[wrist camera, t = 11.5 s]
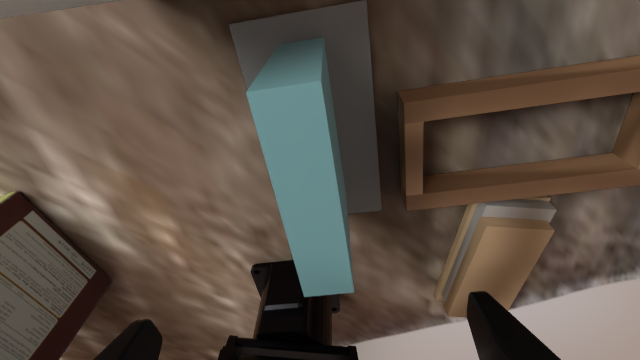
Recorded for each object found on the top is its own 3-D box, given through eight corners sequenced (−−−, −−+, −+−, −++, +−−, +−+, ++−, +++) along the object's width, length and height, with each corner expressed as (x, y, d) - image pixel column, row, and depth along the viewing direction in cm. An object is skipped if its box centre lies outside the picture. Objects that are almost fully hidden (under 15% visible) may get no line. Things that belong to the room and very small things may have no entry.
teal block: (323, 37, 17) (320, 80, 10) (346, 194, 22) (354, 292, 15) (278, 45, 17) (245, 92, 10) (311, 198, 22) (304, 296, 16)
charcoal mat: (381, 205, 23) (382, 210, 23) (284, 216, 24) (283, 221, 23) (365, -1, 16) (366, 0, 16) (231, 23, 17) (228, 24, 17)
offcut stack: (432, 290, 29) (442, 321, 26) (471, 185, 23) (489, 212, 20) (489, 293, 29) (504, 324, 26) (542, 190, 23) (569, 217, 20)
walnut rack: (623, 167, 21) (648, 184, 19) (400, 193, 23) (406, 211, 21) (668, 50, 17) (705, 59, 16) (397, 91, 19) (404, 103, 17)
